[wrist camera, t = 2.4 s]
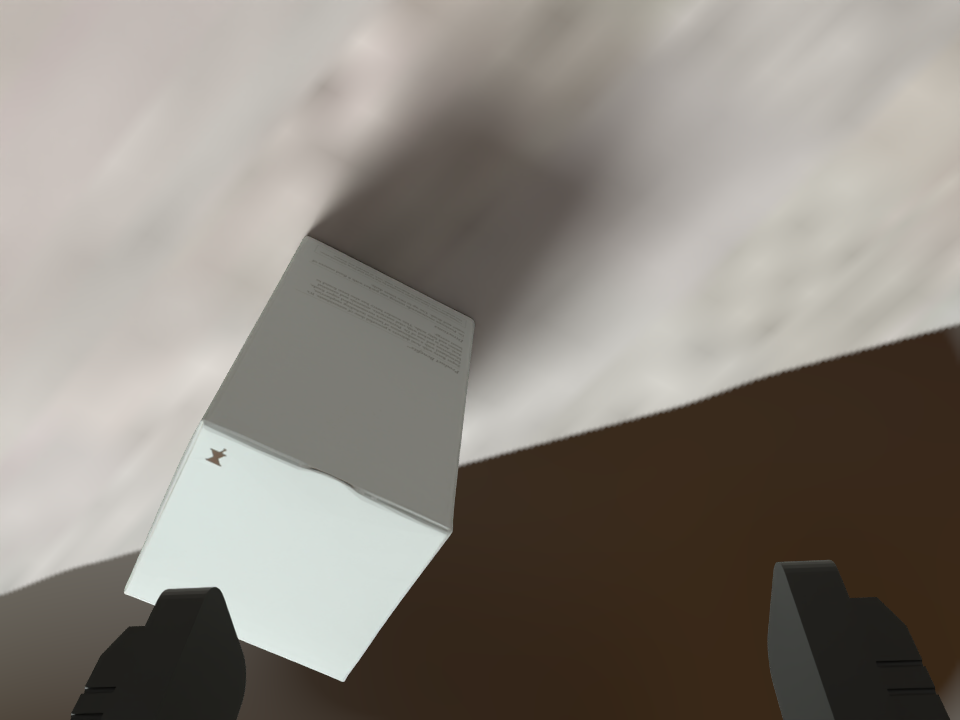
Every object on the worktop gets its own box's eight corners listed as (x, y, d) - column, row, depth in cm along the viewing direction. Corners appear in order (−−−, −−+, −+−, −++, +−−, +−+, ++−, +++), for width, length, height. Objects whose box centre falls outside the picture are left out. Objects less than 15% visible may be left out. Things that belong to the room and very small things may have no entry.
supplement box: (234, 376, 45) (109, 596, 32) (305, 229, 40) (195, 413, 27) (398, 454, 46) (343, 692, 33) (482, 320, 42) (456, 534, 29)
